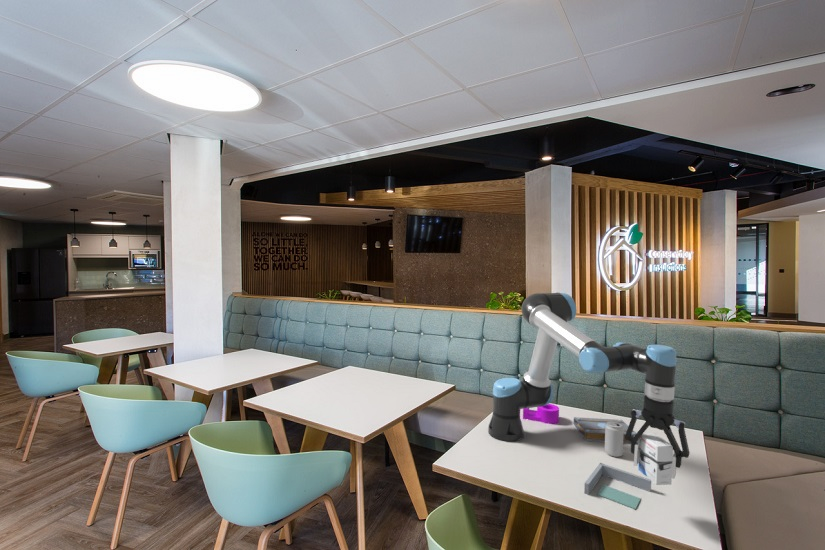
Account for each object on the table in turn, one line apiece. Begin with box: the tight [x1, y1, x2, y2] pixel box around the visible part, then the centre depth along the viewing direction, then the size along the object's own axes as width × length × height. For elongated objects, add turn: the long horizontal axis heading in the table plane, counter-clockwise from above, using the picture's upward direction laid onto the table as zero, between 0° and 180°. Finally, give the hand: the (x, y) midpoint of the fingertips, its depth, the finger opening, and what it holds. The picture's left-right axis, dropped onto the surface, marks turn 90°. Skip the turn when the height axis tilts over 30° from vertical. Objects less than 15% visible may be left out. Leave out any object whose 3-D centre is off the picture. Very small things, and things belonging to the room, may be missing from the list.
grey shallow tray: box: [573, 416, 637, 444], centre depth 172 cm, size 21×16×5 cm
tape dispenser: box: [522, 403, 560, 425], centre depth 187 cm, size 16×10×6 cm, turn 68°
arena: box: [583, 462, 652, 495], centre depth 129 cm, size 16×17×4 cm
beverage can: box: [604, 421, 624, 458], centre depth 154 cm, size 6×6×12 cm
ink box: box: [638, 432, 674, 486], centre depth 118 cm, size 8×5×12 cm, turn 4°
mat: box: [597, 484, 641, 510], centre depth 126 cm, size 11×7×1 cm, turn 49°
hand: (654, 469), depth 118 cm, fingers closed on ink box, 9 cm apart
